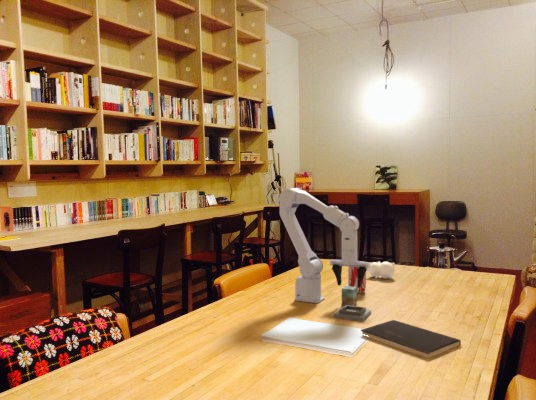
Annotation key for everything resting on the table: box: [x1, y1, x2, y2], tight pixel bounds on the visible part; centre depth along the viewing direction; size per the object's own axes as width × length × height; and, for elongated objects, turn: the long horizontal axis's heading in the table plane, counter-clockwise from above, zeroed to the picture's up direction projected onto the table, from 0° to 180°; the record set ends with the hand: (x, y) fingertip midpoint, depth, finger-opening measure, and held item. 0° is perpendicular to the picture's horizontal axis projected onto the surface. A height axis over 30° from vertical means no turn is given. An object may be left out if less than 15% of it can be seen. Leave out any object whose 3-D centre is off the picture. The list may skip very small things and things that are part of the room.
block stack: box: [341, 285, 358, 307], centre depth 176 cm, size 4×4×6 cm
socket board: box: [333, 305, 372, 322], centre depth 163 cm, size 10×10×2 cm
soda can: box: [347, 266, 367, 294], centre depth 195 cm, size 7×7×12 cm
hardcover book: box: [360, 319, 462, 359], centre depth 139 cm, size 16×23×2 cm
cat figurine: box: [366, 260, 396, 280], centre depth 221 cm, size 9×11×12 cm
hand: (349, 285), depth 176 cm, fingers open, 7 cm apart
